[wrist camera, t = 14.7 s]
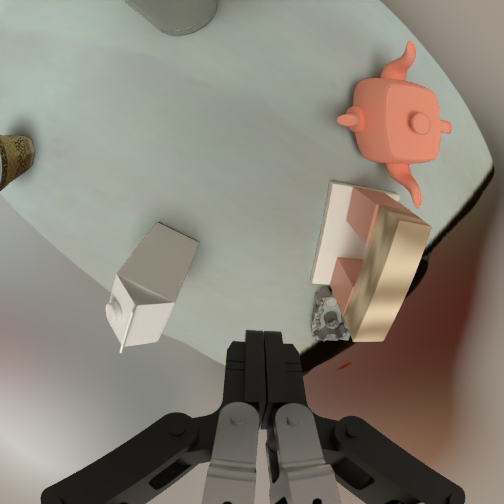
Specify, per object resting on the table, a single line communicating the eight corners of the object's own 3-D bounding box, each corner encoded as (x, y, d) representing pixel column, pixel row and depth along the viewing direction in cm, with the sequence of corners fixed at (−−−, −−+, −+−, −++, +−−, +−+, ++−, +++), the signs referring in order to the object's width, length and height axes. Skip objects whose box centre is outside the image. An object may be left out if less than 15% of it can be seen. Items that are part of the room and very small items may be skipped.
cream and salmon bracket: (330, 181, 37) (352, 200, 28) (395, 193, 37) (428, 214, 29) (310, 278, 44) (322, 316, 35) (369, 282, 44) (390, 316, 36)
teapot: (382, 187, 37) (420, 211, 27) (314, 119, 33) (337, 120, 23) (435, 124, 31) (481, 132, 22) (374, 54, 28) (413, 38, 18)
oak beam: (379, 204, 28) (399, 220, 24) (409, 210, 28) (431, 226, 24) (343, 316, 35) (353, 341, 31) (371, 317, 36) (383, 341, 31)
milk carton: (199, 241, 41) (166, 328, 24) (182, 276, 44) (149, 366, 27) (157, 221, 39) (99, 295, 22) (144, 257, 42) (92, 338, 25)
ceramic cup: (32, 116, 30) (-8, 123, 21) (47, 165, 34) (8, 181, 25) (-3, 151, 32) (-37, 164, 23) (11, 194, 36) (-22, 213, 27)
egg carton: (315, 283, 45) (319, 298, 41) (356, 283, 45) (364, 296, 41) (306, 330, 49) (310, 346, 46) (344, 329, 50) (349, 343, 46)
